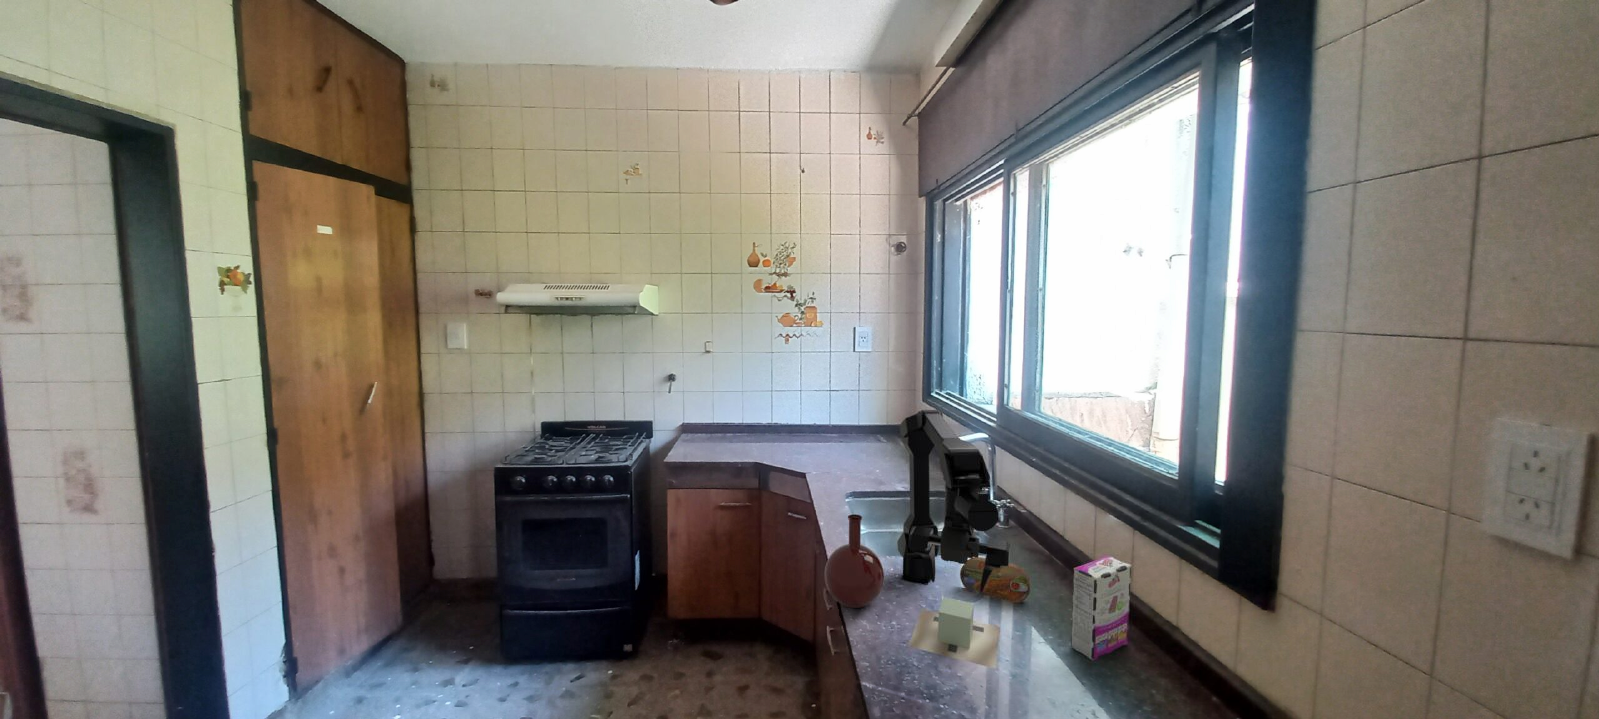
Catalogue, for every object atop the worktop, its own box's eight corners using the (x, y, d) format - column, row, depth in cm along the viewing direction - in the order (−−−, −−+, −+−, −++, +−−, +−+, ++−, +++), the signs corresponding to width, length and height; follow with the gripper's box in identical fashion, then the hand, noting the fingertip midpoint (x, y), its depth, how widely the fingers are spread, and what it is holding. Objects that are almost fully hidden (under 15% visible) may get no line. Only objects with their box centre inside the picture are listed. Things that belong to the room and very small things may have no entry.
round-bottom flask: (845, 627, 110) (846, 533, 108) (813, 596, 121) (814, 512, 119) (895, 610, 116) (897, 522, 114) (861, 583, 127) (862, 502, 126)
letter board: (908, 648, 103) (908, 645, 103) (921, 610, 116) (922, 609, 116) (995, 670, 96) (995, 668, 96) (1000, 628, 109) (1000, 626, 109)
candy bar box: (1103, 631, 109) (1108, 554, 107) (1128, 645, 104) (1133, 564, 103) (1068, 647, 103) (1072, 566, 102) (1092, 662, 99) (1097, 578, 97)
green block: (937, 640, 104) (938, 611, 104) (942, 624, 110) (943, 596, 109) (969, 648, 102) (970, 619, 101) (972, 631, 107) (973, 603, 107)
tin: (959, 591, 124) (960, 556, 123) (961, 585, 127) (962, 551, 126) (1028, 608, 117) (1030, 571, 116) (1030, 601, 120) (1031, 565, 119)
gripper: (903, 517, 100) (901, 595, 101) (1009, 534, 93) (1005, 618, 94) (915, 498, 110) (913, 569, 112) (1011, 512, 103) (1008, 588, 104)
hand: (957, 586), depth 105 cm, fingers open, 9 cm apart
